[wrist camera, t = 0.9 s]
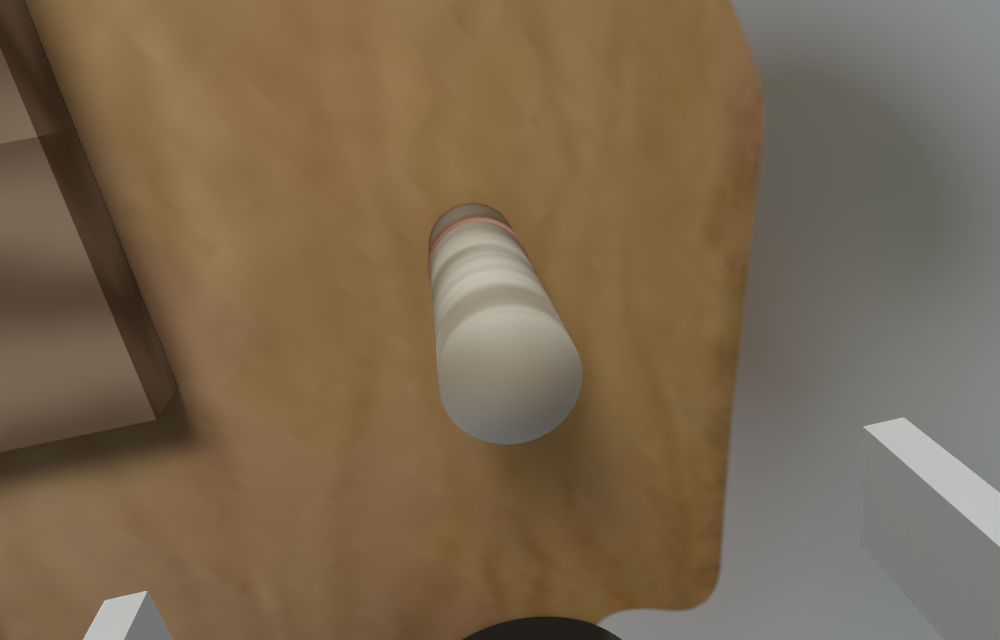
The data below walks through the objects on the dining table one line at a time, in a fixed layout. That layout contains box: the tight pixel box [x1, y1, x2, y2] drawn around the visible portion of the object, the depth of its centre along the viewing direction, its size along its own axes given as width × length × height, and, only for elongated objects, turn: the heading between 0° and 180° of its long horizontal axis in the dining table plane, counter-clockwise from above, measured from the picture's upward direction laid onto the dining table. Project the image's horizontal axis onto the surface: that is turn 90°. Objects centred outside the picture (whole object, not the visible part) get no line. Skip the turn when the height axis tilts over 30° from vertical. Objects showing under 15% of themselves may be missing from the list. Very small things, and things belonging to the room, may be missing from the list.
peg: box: [428, 203, 583, 445], centre depth 26 cm, size 4×4×14 cm
